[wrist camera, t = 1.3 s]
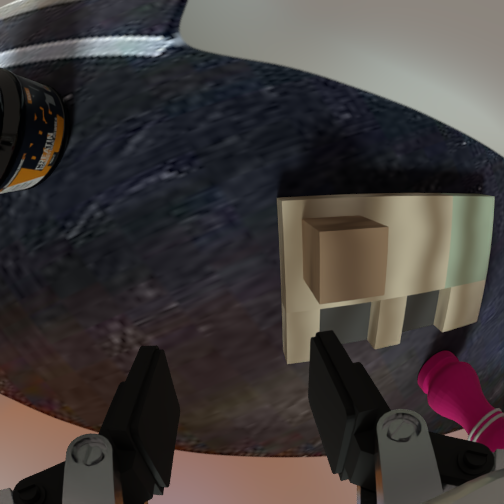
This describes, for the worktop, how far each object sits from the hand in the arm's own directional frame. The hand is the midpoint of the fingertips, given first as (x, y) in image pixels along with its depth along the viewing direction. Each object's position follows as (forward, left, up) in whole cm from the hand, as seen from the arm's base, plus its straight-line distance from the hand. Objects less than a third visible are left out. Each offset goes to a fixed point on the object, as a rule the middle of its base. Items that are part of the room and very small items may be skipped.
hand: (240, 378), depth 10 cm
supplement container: (+19, -13, -18) cm, 29 cm away
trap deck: (-16, +4, -17) cm, 24 cm away
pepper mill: (-25, +19, -18) cm, 36 cm away
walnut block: (-8, 0, -15) cm, 17 cm away
